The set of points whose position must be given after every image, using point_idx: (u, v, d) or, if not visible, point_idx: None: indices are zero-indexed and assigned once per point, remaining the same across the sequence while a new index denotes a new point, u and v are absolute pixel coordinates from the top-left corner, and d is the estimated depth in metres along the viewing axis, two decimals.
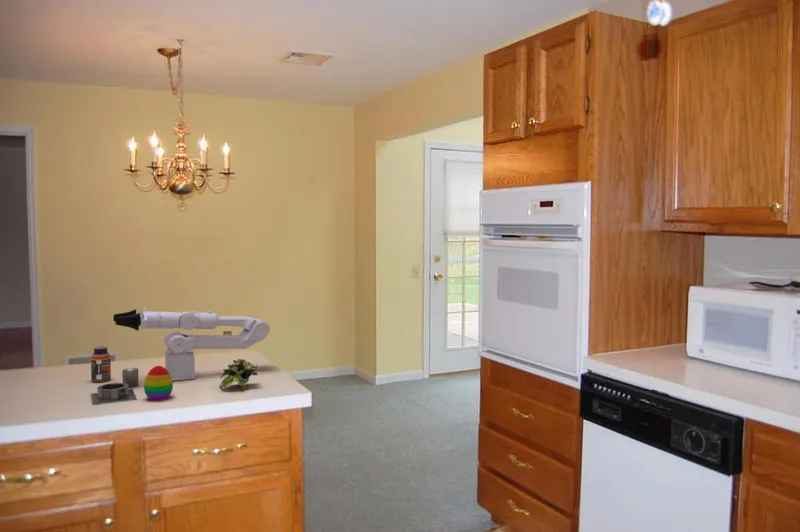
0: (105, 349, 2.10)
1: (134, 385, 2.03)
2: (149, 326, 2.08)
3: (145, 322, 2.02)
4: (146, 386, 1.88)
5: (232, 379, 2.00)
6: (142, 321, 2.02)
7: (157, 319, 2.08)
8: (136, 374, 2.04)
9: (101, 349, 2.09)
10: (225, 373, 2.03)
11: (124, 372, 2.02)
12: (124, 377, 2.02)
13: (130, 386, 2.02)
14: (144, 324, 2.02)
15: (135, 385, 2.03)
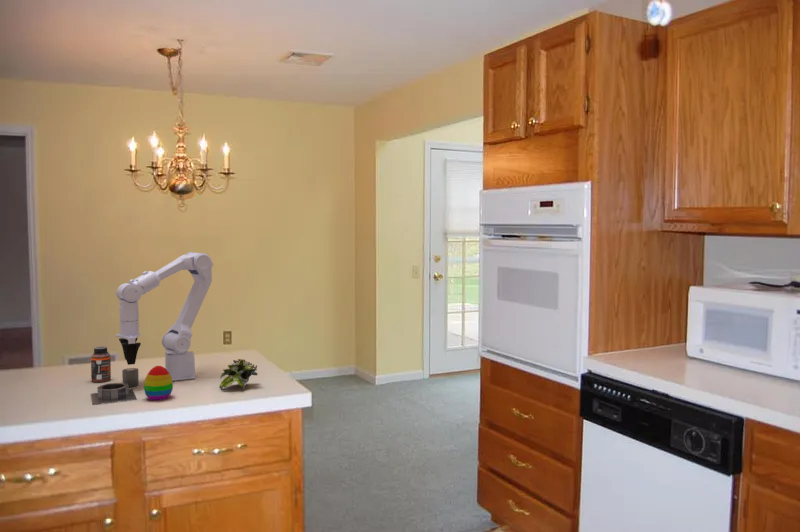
0: (105, 349, 2.10)
1: (134, 385, 2.03)
2: (136, 330, 2.02)
3: (131, 339, 1.97)
4: (146, 386, 1.88)
5: (232, 379, 2.00)
6: (130, 342, 1.97)
7: (128, 324, 2.00)
8: (136, 374, 2.04)
9: (101, 349, 2.09)
10: (225, 373, 2.02)
11: (124, 372, 2.02)
12: (124, 377, 2.02)
13: (130, 386, 2.02)
14: (133, 340, 1.97)
15: (135, 385, 2.03)
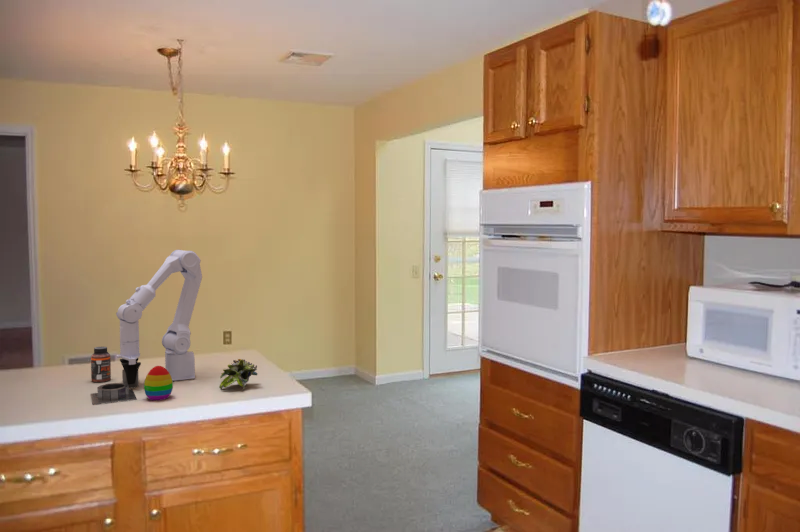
0: (105, 349, 2.10)
1: (134, 385, 2.03)
2: (136, 350, 2.03)
3: (131, 360, 1.97)
4: (146, 386, 1.88)
5: (232, 379, 2.00)
6: (130, 363, 1.97)
7: (128, 344, 2.01)
8: None
9: (101, 349, 2.09)
10: (225, 373, 2.02)
11: (124, 372, 2.02)
12: (124, 377, 2.02)
13: (130, 386, 2.02)
14: (133, 361, 1.98)
15: (135, 385, 2.03)
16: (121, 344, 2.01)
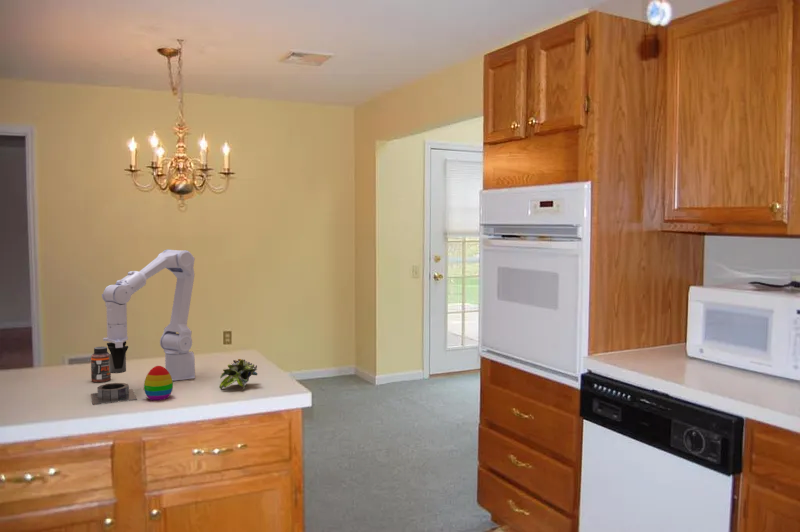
0: (105, 349, 2.10)
1: (121, 370, 1.94)
2: (124, 333, 1.94)
3: (118, 343, 1.88)
4: (146, 386, 1.88)
5: (232, 379, 2.00)
6: (117, 346, 1.88)
7: (115, 327, 1.92)
8: None
9: (101, 349, 2.09)
10: (225, 373, 2.03)
11: (111, 356, 1.93)
12: (111, 362, 1.93)
13: (117, 371, 1.93)
14: (120, 344, 1.89)
15: (122, 370, 1.94)
16: (108, 327, 1.92)
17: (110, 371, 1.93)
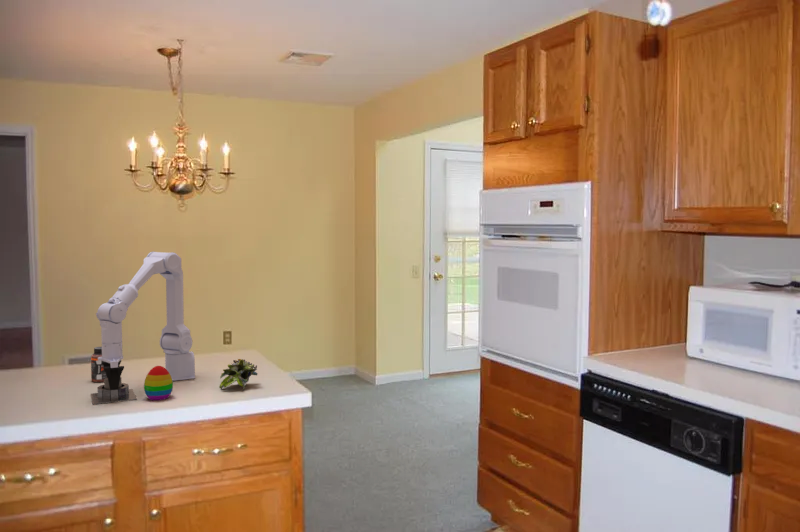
0: None
1: None
2: (119, 352, 1.90)
3: (113, 363, 1.85)
4: (146, 386, 1.88)
5: (232, 379, 2.00)
6: (112, 366, 1.85)
7: (110, 346, 1.88)
8: (119, 383, 1.91)
9: (101, 349, 2.09)
10: (225, 373, 2.03)
11: (106, 381, 1.90)
12: (106, 386, 1.90)
13: None
14: (116, 364, 1.85)
15: None
16: (103, 346, 1.89)
17: None
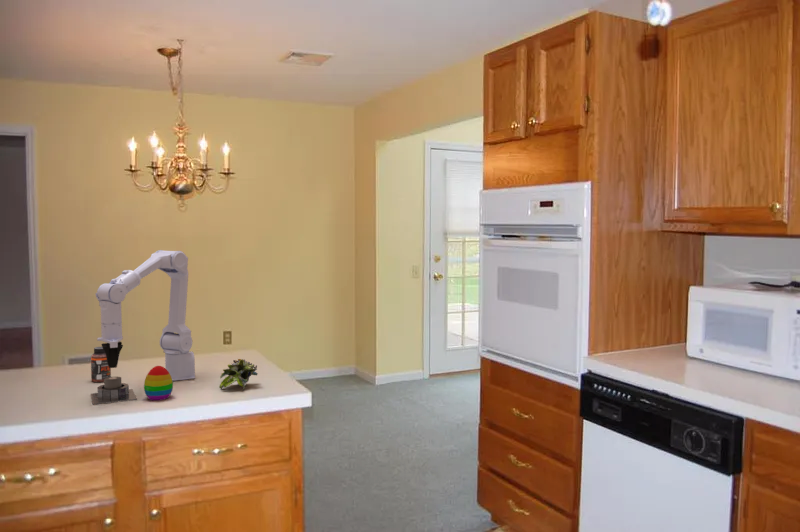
0: None
1: None
2: (119, 333, 1.90)
3: (113, 343, 1.84)
4: (146, 386, 1.88)
5: (232, 379, 2.00)
6: (112, 346, 1.84)
7: (110, 326, 1.88)
8: (119, 383, 1.91)
9: (101, 349, 2.09)
10: (225, 373, 2.03)
11: (106, 381, 1.90)
12: (106, 386, 1.90)
13: None
14: (115, 344, 1.85)
15: None
16: (102, 326, 1.88)
17: None
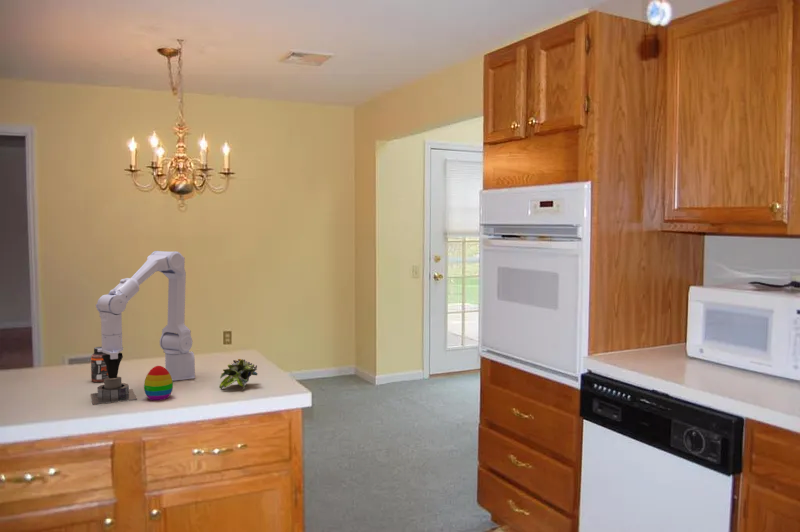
0: None
1: None
2: (119, 344, 1.90)
3: (113, 354, 1.85)
4: (146, 386, 1.88)
5: (232, 379, 2.00)
6: (112, 358, 1.85)
7: (110, 338, 1.88)
8: (119, 383, 1.91)
9: None
10: (225, 373, 2.03)
11: (106, 381, 1.90)
12: (106, 386, 1.90)
13: None
14: (115, 355, 1.85)
15: None
16: (102, 337, 1.89)
17: None
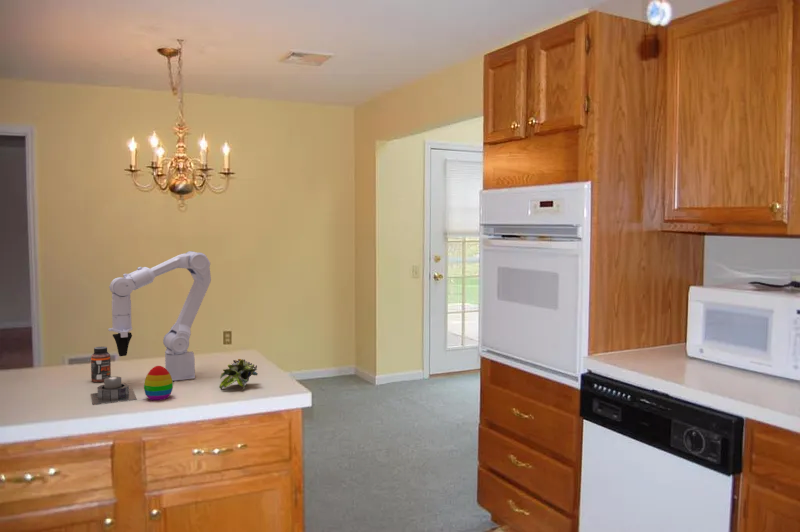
0: (105, 349, 2.10)
1: None
2: (128, 324, 2.03)
3: (123, 333, 1.98)
4: (146, 386, 1.88)
5: (232, 379, 2.00)
6: (122, 336, 1.98)
7: (120, 318, 2.01)
8: (119, 383, 1.91)
9: (101, 349, 2.09)
10: (225, 373, 2.03)
11: (106, 381, 1.90)
12: (106, 386, 1.90)
13: None
14: (125, 334, 1.98)
15: None
16: (113, 317, 2.01)
17: None
